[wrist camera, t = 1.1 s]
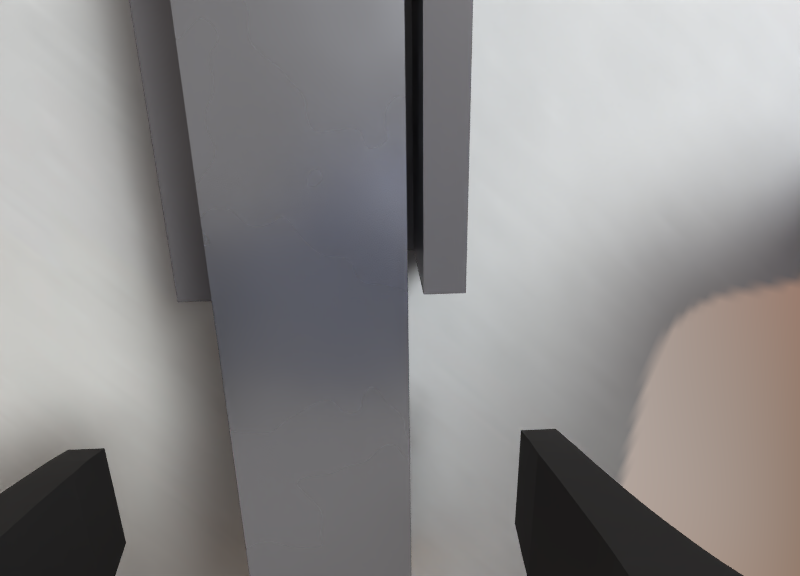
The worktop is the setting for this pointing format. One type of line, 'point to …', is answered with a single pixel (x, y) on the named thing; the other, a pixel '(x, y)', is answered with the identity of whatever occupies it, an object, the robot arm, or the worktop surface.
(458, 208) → the grey u-shaped channel
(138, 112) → the worktop surface
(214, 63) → the bar
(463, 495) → the worktop surface
